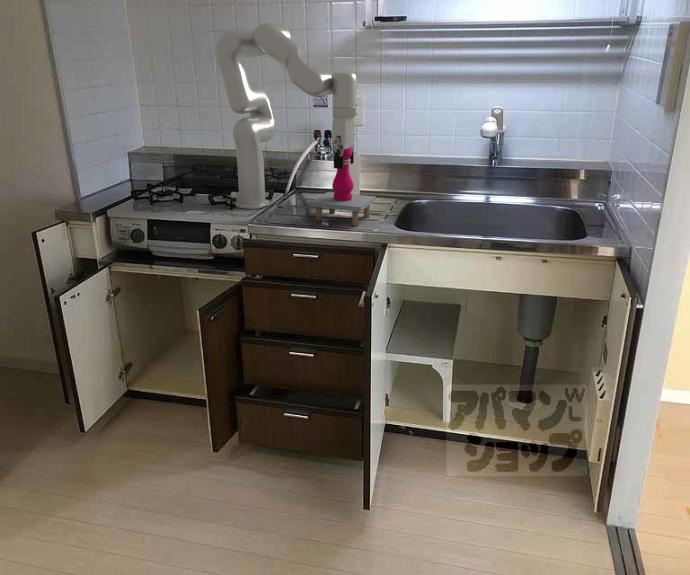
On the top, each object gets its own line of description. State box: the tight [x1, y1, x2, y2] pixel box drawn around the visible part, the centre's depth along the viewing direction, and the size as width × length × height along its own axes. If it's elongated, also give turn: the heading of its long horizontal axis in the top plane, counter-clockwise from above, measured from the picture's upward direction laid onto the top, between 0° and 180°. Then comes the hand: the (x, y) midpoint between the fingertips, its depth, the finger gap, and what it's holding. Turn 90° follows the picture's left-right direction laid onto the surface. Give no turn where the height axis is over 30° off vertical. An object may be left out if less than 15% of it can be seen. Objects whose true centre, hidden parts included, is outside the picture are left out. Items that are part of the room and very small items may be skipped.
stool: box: [309, 191, 377, 227], centre depth 206 cm, size 18×16×7 cm
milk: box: [349, 151, 361, 195], centre depth 222 cm, size 6×6×22 cm
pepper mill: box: [331, 147, 354, 201], centre depth 201 cm, size 7×7×20 cm
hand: (343, 165), depth 201 cm, fingers open, 9 cm apart
